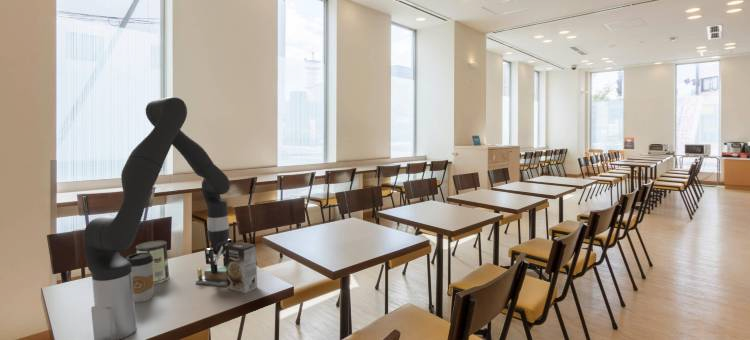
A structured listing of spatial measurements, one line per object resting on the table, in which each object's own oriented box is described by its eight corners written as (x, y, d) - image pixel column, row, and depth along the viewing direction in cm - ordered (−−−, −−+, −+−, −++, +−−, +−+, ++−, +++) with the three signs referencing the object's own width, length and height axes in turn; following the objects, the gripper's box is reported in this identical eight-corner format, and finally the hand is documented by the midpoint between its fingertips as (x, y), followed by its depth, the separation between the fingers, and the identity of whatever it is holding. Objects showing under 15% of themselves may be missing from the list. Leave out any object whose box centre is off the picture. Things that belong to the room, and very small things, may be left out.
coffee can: (153, 273, 157) (151, 239, 156) (175, 276, 155) (172, 241, 153) (132, 283, 147) (129, 247, 146) (154, 286, 145) (152, 249, 143)
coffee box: (226, 289, 141) (224, 245, 140) (240, 282, 147) (238, 240, 145) (244, 293, 137) (242, 248, 135) (258, 287, 143) (256, 243, 141)
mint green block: (204, 279, 148) (204, 270, 148) (212, 273, 154) (212, 265, 153) (230, 279, 147) (229, 271, 147) (236, 274, 152) (236, 266, 152)
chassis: (228, 286, 143) (228, 273, 143) (195, 283, 147) (194, 270, 146) (245, 275, 154) (245, 262, 154) (214, 273, 157) (213, 260, 157)
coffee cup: (124, 305, 129) (120, 261, 128) (132, 295, 137) (128, 253, 136) (152, 301, 132) (149, 258, 130) (158, 292, 140) (155, 251, 138)
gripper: (221, 222, 156) (223, 263, 158) (196, 232, 142) (199, 276, 144) (238, 223, 154) (240, 264, 156) (215, 233, 140) (217, 278, 142)
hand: (220, 270), depth 150 cm, fingers open, 7 cm apart
